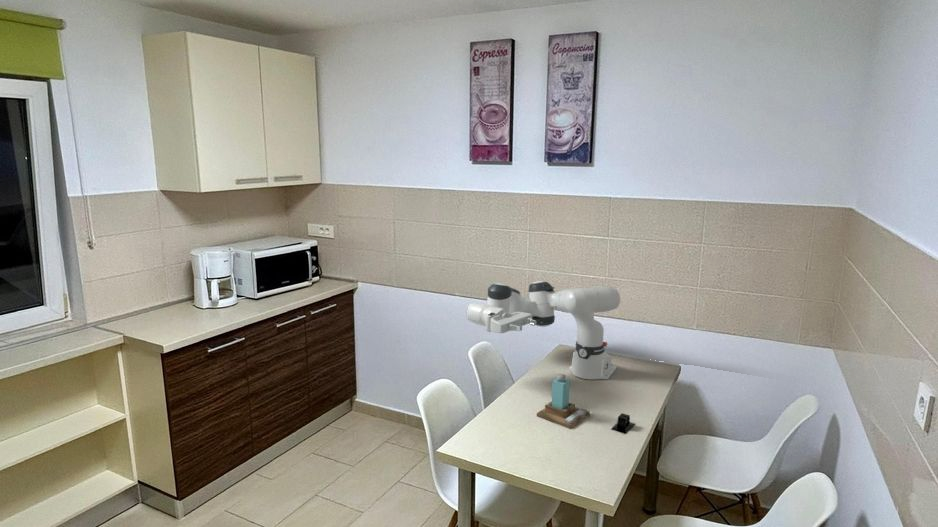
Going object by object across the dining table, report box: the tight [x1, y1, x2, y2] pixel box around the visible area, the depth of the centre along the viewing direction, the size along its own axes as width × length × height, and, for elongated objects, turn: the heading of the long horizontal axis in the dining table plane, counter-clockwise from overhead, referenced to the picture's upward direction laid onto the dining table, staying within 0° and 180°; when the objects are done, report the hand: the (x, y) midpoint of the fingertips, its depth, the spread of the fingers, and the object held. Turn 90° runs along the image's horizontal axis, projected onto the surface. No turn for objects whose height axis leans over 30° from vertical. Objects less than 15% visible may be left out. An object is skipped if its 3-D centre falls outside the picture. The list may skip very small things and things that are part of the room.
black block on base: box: [610, 412, 636, 435], centre depth 191 cm, size 12×7×5 cm, turn 143°
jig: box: [536, 400, 591, 430], centre depth 199 cm, size 14×14×4 cm
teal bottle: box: [551, 373, 571, 410], centre depth 198 cm, size 4×4×14 cm
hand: (528, 326), depth 206 cm, fingers open, 8 cm apart
